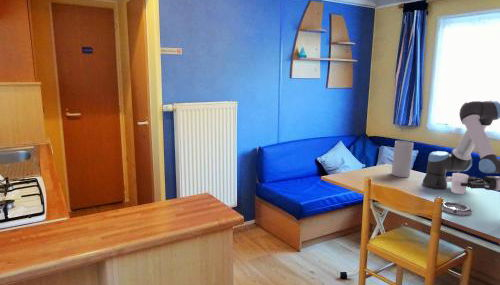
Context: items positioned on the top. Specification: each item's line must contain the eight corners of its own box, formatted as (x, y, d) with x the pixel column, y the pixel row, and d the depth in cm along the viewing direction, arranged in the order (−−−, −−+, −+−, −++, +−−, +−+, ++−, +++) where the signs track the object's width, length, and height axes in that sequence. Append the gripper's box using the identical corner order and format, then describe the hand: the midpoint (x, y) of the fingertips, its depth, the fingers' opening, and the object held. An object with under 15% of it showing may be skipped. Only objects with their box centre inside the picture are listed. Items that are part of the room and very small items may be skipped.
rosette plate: (433, 208, 203) (433, 204, 202) (447, 203, 212) (447, 198, 212) (463, 218, 190) (464, 213, 190) (476, 212, 200) (477, 207, 199)
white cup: (466, 195, 194) (468, 177, 192) (449, 192, 198) (451, 175, 196) (466, 191, 200) (468, 174, 198) (450, 188, 204) (452, 172, 202)
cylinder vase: (413, 177, 263) (417, 144, 258) (398, 178, 260) (402, 144, 255) (402, 172, 275) (406, 140, 270) (388, 173, 272) (391, 140, 267)
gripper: (503, 196, 188) (458, 194, 189) (481, 184, 208) (440, 182, 209) (506, 182, 186) (460, 180, 187) (483, 171, 206) (442, 169, 207)
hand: (450, 181), depth 198 cm, fingers closed on white cup, 8 cm apart
